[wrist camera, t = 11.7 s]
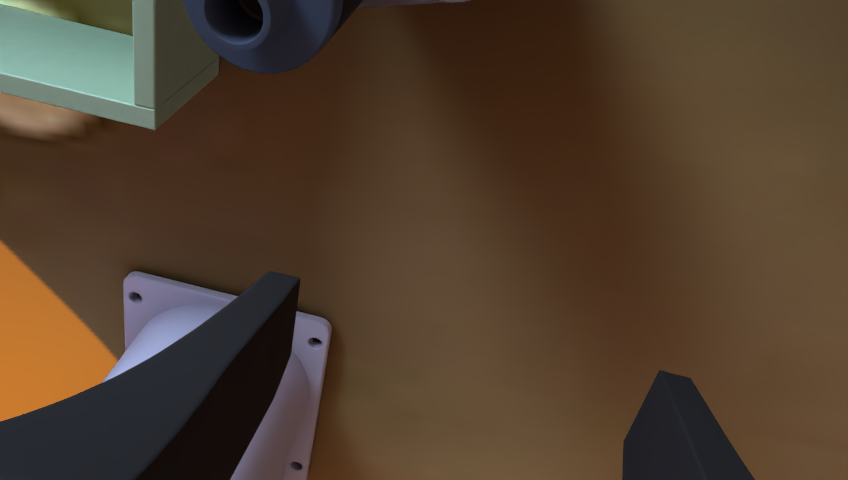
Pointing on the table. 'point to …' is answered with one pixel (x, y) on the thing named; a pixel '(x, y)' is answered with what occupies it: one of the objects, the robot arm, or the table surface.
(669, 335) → the table surface
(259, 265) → the table surface
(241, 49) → the vaping device
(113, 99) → the storage box
